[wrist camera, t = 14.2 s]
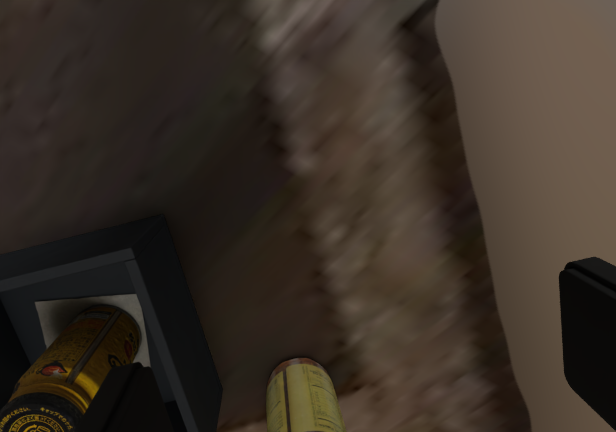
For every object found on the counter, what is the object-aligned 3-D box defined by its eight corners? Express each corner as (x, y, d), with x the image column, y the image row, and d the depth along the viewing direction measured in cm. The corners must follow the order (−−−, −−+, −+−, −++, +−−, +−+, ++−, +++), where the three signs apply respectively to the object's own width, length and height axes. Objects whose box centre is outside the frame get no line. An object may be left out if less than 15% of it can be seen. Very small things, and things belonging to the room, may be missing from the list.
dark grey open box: (-21, 259, 36) (-109, 307, 28) (163, 213, 37) (131, 247, 28) (60, 432, 41) (4, 518, 33) (223, 390, 41) (210, 464, 33)
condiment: (151, 367, 39) (101, 479, 28) (53, 376, 39) (-40, 493, 27) (140, 292, 37) (81, 377, 26) (36, 300, 37) (-71, 390, 25)
